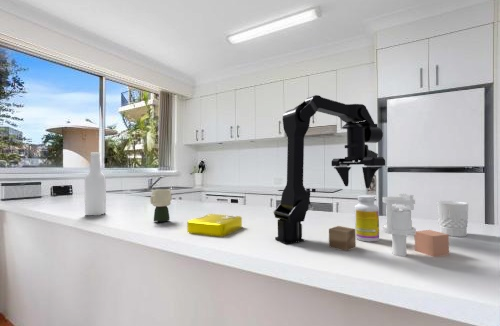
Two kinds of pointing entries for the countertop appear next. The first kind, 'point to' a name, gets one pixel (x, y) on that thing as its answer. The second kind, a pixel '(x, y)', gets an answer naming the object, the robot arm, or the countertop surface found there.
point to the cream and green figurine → (161, 204)
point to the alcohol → (95, 187)
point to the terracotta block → (432, 243)
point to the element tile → (214, 225)
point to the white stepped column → (399, 221)
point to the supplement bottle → (366, 219)
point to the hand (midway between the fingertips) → (356, 187)
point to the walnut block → (342, 238)
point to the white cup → (453, 217)
